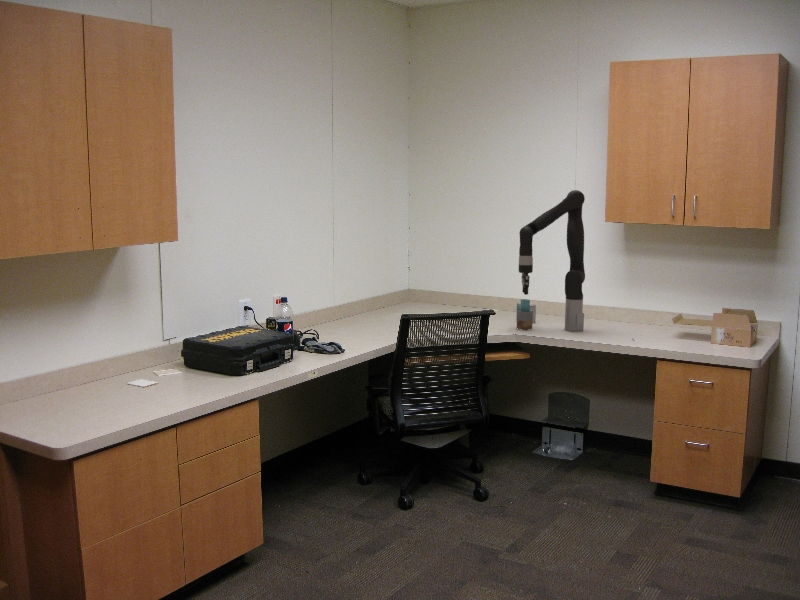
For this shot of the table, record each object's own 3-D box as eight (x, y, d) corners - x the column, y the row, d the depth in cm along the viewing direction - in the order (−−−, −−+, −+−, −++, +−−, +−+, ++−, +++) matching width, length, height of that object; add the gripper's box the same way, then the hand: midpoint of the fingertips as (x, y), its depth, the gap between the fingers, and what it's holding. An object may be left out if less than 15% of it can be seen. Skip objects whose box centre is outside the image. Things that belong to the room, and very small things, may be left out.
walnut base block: (532, 329, 442) (532, 320, 441) (525, 330, 438) (525, 321, 437) (523, 327, 447) (523, 318, 446) (516, 328, 443) (516, 319, 442)
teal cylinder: (531, 310, 441) (531, 300, 440) (525, 312, 437) (525, 301, 436) (524, 309, 444) (524, 298, 443) (518, 310, 441) (518, 300, 440)
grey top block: (532, 320, 441) (532, 311, 441) (525, 321, 437) (525, 312, 437) (524, 318, 446) (524, 309, 445) (516, 319, 442) (517, 310, 441)
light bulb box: (515, 321, 467) (516, 302, 465) (525, 320, 469) (526, 301, 468) (526, 324, 457) (526, 305, 455) (536, 323, 460) (536, 304, 458)
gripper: (534, 265, 430) (533, 295, 432) (531, 262, 444) (530, 291, 446) (519, 265, 430) (519, 295, 433) (517, 262, 444) (517, 291, 447)
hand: (525, 293), depth 439 cm, fingers open, 8 cm apart
